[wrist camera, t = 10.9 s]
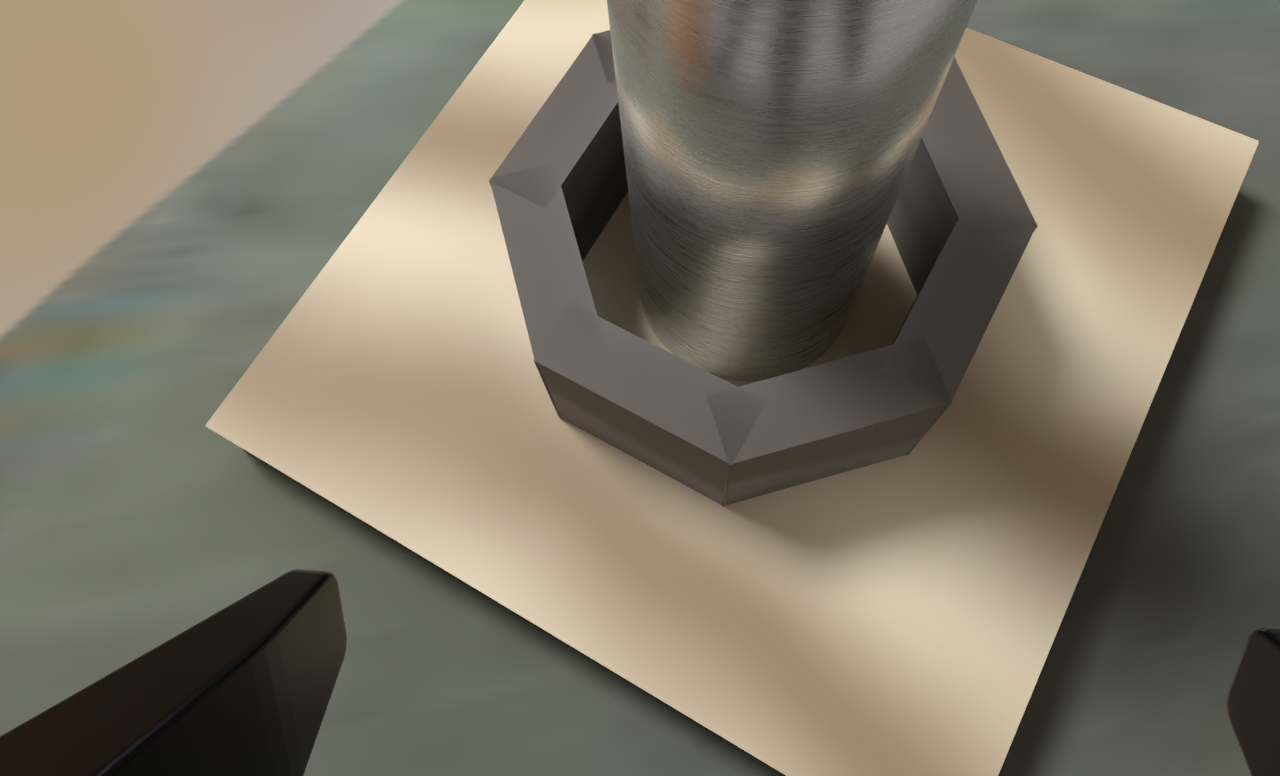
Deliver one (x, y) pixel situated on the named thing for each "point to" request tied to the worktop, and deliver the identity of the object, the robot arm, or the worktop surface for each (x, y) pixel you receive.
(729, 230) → the pin
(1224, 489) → the worktop surface
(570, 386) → the socket board
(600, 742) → the worktop surface
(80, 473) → the worktop surface
